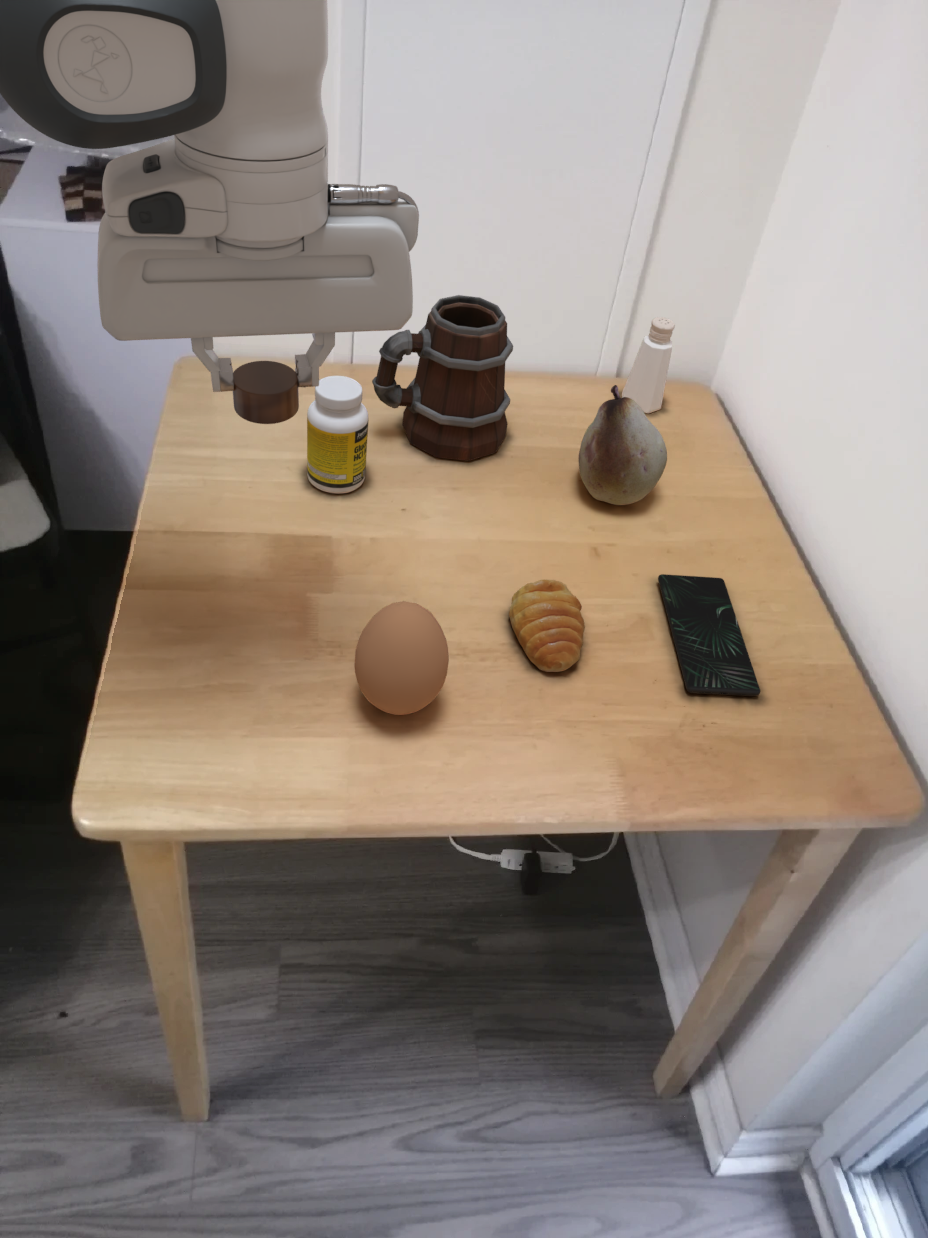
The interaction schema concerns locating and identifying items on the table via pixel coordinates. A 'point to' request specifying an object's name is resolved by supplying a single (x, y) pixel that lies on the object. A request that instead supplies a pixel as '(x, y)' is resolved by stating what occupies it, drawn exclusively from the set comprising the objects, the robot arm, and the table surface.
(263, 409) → the brown bottle cap
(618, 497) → the fruit
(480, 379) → the mug
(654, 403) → the pepper shaker
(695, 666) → the smartphone
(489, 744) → the table surface
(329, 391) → the pill bottle
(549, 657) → the pastry
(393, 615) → the egg
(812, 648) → the table surface
